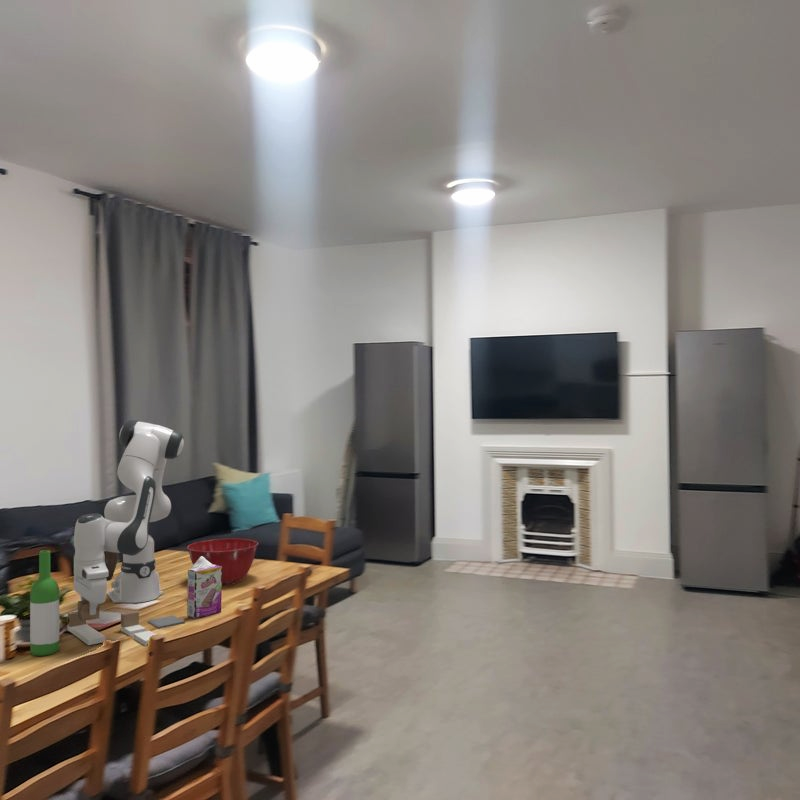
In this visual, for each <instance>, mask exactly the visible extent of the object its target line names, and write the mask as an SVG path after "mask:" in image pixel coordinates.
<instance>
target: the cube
mask: <svg viewBox="0 0 800 800" xmlns="http://www.w3.org/2000/svg"><path fill="white" fill-rule="evenodd" d="M100 605H101V604H98V605H97V608H96V614H95V615H90V614H89V608H90V604H89V601H88V600H83V601H81V600H77V611H78V618H79V619H80V620H82V621H86V622H87V621H92V620H97V619H100V617H101V613H100V610H101V607H100Z"/></svg>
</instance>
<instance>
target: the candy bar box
mask: <svg viewBox="0 0 800 800" xmlns="http://www.w3.org/2000/svg"><path fill="white" fill-rule="evenodd" d="M222 586H223V585H222V566H219V565H208V566H203V567H198V568H193V569H191V568H190V569H187V605H186V607H187V611H186V614H187V617H188V618H191V619H193V620H196V619H200V618H204V617H207V616H211V615H212V616H213V615H215V614H219V613H221V612H222Z"/></svg>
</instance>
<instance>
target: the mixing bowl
mask: <svg viewBox="0 0 800 800" xmlns="http://www.w3.org/2000/svg"><path fill="white" fill-rule="evenodd" d="M258 545H259V542H258V541H256V540H253V539H247V538H218V539H216V538H215V539H208V540H201V541H197V542H196V541H195V542H193V543H191V544H188V545H187V547H186V548H187V550H188V553H189V557H190V560H191V563H192V566H193V565H194V564H195V563H196V561H197V560H198V559H199V558H200V557H201V556H203V557H204V558H205V559H206V560H207V561H209V562H210V563H211V564H212V565H219V566H222V586H230V585H234V584H233V583H235V584H237V582H238V583H239V582H241V580H244V578H245V577H246V576H247V575H248V573H249V571H250V569H251V568H252V567H251V566H252V564H253V562H254V559H255V556H256V553H257V549H258ZM229 584H230V585H229Z"/></svg>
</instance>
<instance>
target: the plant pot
mask: <svg viewBox="0 0 800 800" xmlns="http://www.w3.org/2000/svg"><path fill="white" fill-rule="evenodd" d="M104 555H105V565H106V567H107V569H108V571H109V576H108V577H106V579H107V581H110V580H112V578H113V577H114V574H115V570H116V567H117V564H118V561H119V556H120V553H116V552H109V551H104Z"/></svg>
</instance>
